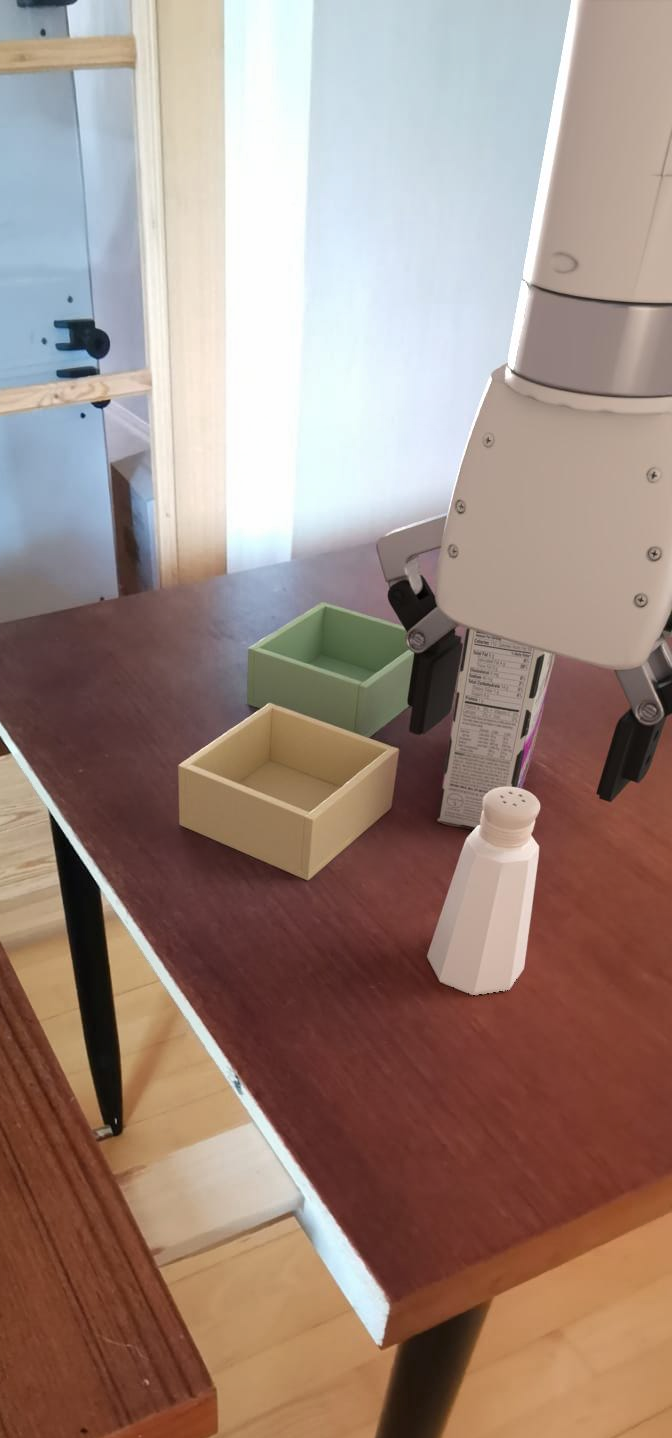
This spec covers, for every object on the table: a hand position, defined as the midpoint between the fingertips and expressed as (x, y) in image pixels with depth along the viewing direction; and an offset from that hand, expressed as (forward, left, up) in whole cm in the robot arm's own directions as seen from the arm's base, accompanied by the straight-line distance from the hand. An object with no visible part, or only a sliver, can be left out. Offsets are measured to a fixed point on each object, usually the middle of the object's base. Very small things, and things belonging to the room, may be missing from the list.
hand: (518, 754), depth 52 cm
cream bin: (+17, -6, -14) cm, 23 cm away
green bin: (+23, -22, -14) cm, 35 cm away
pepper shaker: (0, 0, -14) cm, 14 cm away
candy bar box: (+8, -17, -14) cm, 24 cm away
